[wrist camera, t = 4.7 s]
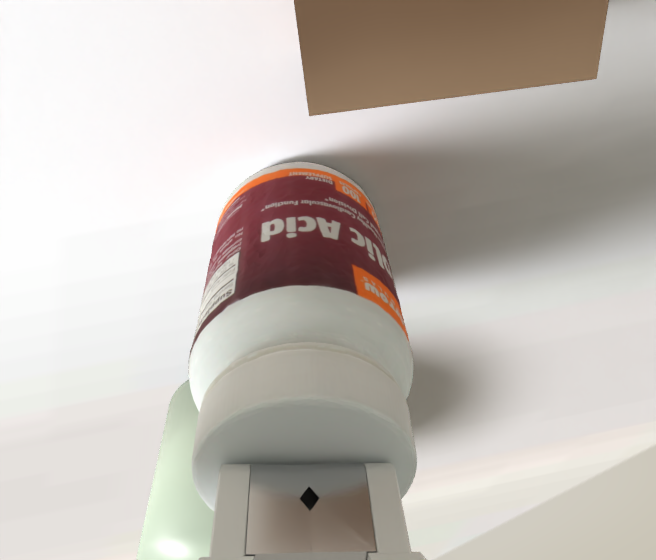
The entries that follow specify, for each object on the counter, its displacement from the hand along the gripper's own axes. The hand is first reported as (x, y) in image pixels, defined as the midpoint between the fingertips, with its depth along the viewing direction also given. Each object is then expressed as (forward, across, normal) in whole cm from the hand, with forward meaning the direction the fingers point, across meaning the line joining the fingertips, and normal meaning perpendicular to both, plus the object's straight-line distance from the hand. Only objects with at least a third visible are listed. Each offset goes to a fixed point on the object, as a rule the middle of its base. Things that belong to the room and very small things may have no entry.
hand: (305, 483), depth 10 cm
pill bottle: (+9, 0, 0) cm, 9 cm away
